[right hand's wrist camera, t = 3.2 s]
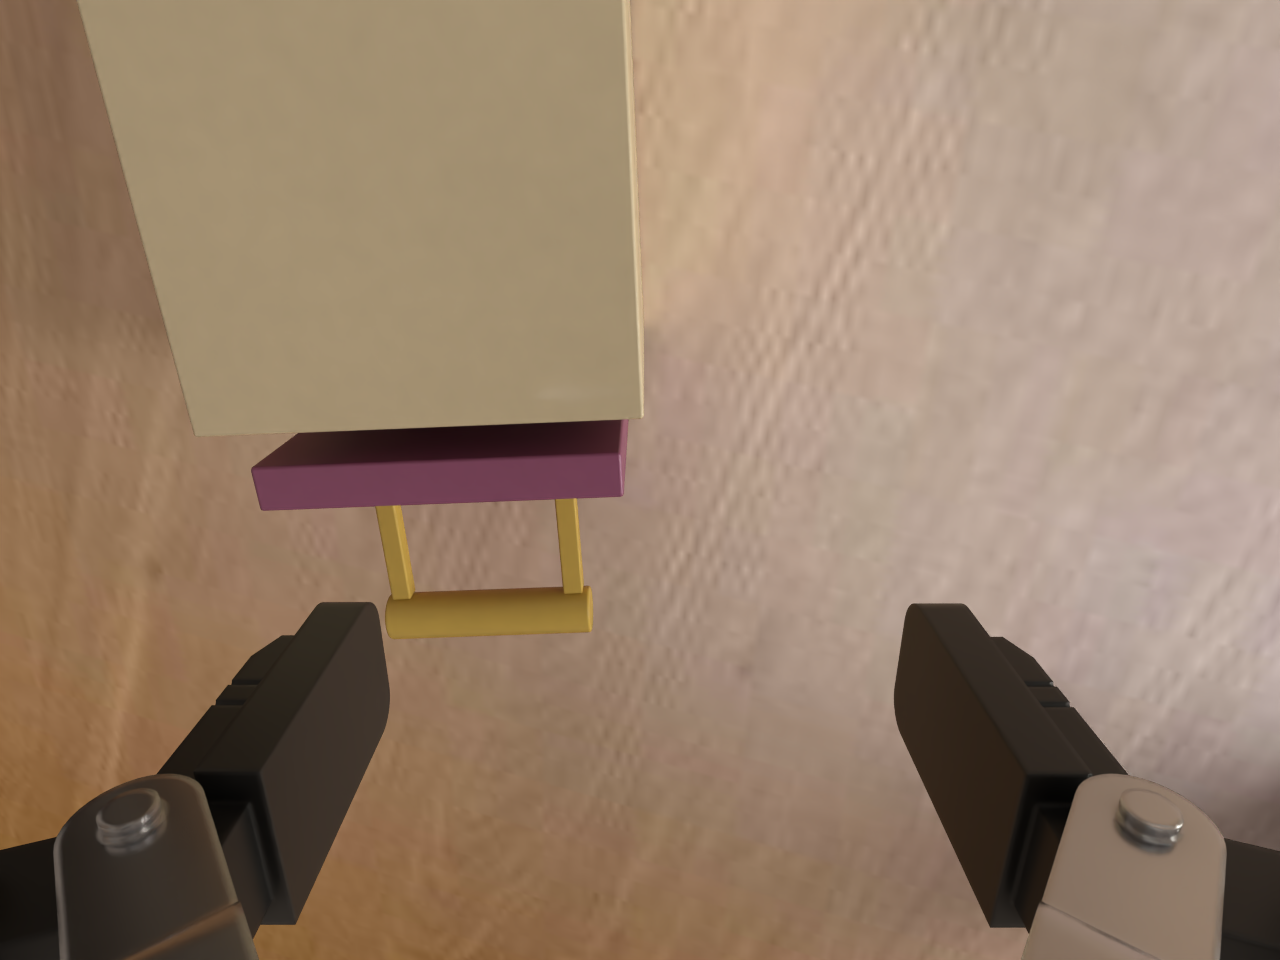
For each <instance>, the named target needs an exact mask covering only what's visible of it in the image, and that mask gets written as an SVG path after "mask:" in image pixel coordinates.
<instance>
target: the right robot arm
mask: <svg viewBox="0 0 1280 960" xmlns="http://www.w3.org/2000/svg"><path fill="white" fill-rule="evenodd" d="M389 704H390V689H389V682H388V675H387V668H386V661H385V654H384V647H383V641H382V634H381V627H380V620H379V615H378V611H377V608H376V606H375V605H374V604H373V603H371V602H322V603H320V604H318V605H317V606H316V607H315V609H314V610H313V611H312V613H311V614H310V615H309V617H308V618H307V619H306V621H305V622H304V623H303V625H302V626H301V627H300V629H299V630H298V631H297V633H296V634H295V635H282V636H280V637H279V638H277V639H276V640H274V641H273V642H271V643H270V644H269V645H267V646H266V647H264V648H263V649H261V650H260V651H258V652H257V653H255V654H254V655H252V656H251V657H250V658H249V660H248V661H247V662H246V663H245V665H244V666H243V667H242V668H241V670H240V671H239V672H238V673H237V675H236V676H235V677H234V678H233V680H232V685H228V686H227V687H226V688H225V689H224V691H223V692H222V693H221V694H220V696H219V697H218V698H217V699H216V705H212V706H211V707H210V708H209V709H208V711H207V712H206V713H205V714H204V716H203V717H202V718H201V719H200V721H199V722H198V723H197V724H196V726H195V727H194V728H193V729H192V731H191V732H190V733H189V734H188V736H187V737H186V738H185V739H184V741H183V742H182V743H181V744H180V746H179V747H178V748H177V749H176V751H175V752H174V753H173V754H172V756H171V757H170V758H169V759H168V761H167V762H166V763H165V764H164V766H163V767H162V768H161V769H160V771H159V772H158V773H157V774H156V775H151V776H146V777H142V778H138V779H135V780H132V781H129V782H126V783H123V784H121V785H119V786H116V787H114V788H112V789H110V790H108V791H106V792H104V793H102V794H100V795H99V796H97V797H96V798H94V799H93V800H91V801H90V802H88V803H87V804H86V805H84V806H83V807H82V808H80V809H79V810H78V811H77V812H76V813H75V814H74V815H73V816H72V817H71V818H70V819H69V820H68V821H67V822H66V824H65V825H64V826H63V827H62V829H61V831H60V832H59V834H58V836H57V837H54V838H50V839H46V840H42V841H38V842H33V843H29V844H25V845H20V846H16V847H12V848H8V849H3V850H0V960H259V958H258V955H257V952H256V949H255V946H254V943H253V938H254V936H255V934H256V932H257V930H258V928H259V926H260V925H295V924H296V922H297V920H298V918H299V915H300V913H301V911H302V909H303V907H304V905H305V902H306V900H307V898H308V896H309V894H310V891H311V889H312V887H313V885H314V883H315V881H316V878H317V876H318V874H319V872H320V870H321V867H322V865H323V863H324V861H325V859H326V856H327V854H328V852H329V850H330V848H331V846H332V843H333V841H334V839H335V837H336V835H337V832H338V830H339V828H340V826H341V824H342V822H343V819H344V817H345V815H346V813H347V811H348V808H349V806H350V804H351V802H352V800H353V797H354V795H355V793H356V791H357V789H358V787H359V784H360V782H361V780H362V778H363V776H364V773H365V771H366V769H367V767H368V765H369V763H370V760H371V758H372V756H373V754H374V752H375V749H376V747H377V745H378V743H379V741H380V738H381V736H382V734H383V732H384V729H385V726H386V723H387V719H388V713H389ZM894 708H895V716H896V721H897V725H898V728H899V731H900V734H901V736H902V738H903V740H904V742H905V745H906V747H907V749H908V751H909V753H910V755H911V758H912V760H913V762H914V764H915V766H916V768H917V770H918V773H919V775H920V777H921V779H922V781H923V783H924V786H925V788H926V790H927V792H928V794H929V796H930V799H931V801H932V803H933V805H934V807H935V809H936V811H937V814H938V816H939V818H940V820H941V822H942V824H943V827H944V829H945V831H946V833H947V835H948V837H949V840H950V842H951V844H952V846H953V848H954V850H955V852H956V855H957V857H958V859H959V861H960V863H961V865H962V868H963V870H964V872H965V874H966V876H967V878H968V881H969V883H970V885H971V887H972V889H973V891H974V894H975V896H976V898H977V900H978V902H979V904H980V906H981V909H982V911H983V913H984V915H985V917H986V919H987V922H988V924H989V926H990V928H1026V929H1027V931H1028V933H1029V936H1028V939H1027V943H1026V946H1025V949H1024V952H1023V955H1022V958H1021V960H1280V851H1276V850H1272V849H1267V848H1263V847H1259V846H1254V845H1250V844H1246V843H1242V842H1237V841H1233V840H1230V839H1226V838H1223V836H1222V834H1221V832H1220V831H1219V829H1218V827H1217V826H1216V825H1215V824H1214V822H1213V821H1212V820H1211V819H1210V818H1209V817H1208V816H1207V815H1206V814H1205V813H1204V812H1203V811H1202V810H1201V809H1200V808H1198V807H1197V806H1196V805H1194V804H1193V803H1192V802H1190V801H1189V800H1187V799H1186V798H1184V797H1183V796H1181V795H1180V794H1178V793H1176V792H1174V791H1172V790H1170V789H1168V788H1166V787H1164V786H1161V785H1159V784H1157V783H1154V782H1151V781H1148V780H1145V779H1142V778H1138V777H1134V776H1129V775H1128V774H1127V773H1126V771H1125V770H1124V769H1123V768H1122V766H1121V765H1120V764H1119V763H1118V761H1117V760H1116V759H1115V758H1114V756H1113V755H1112V754H1111V753H1110V752H1109V750H1108V749H1107V748H1106V747H1105V745H1104V744H1103V743H1102V742H1101V740H1100V739H1099V738H1098V737H1097V735H1096V734H1095V733H1094V732H1093V731H1092V729H1091V728H1090V727H1089V726H1088V724H1087V723H1086V722H1085V721H1084V719H1083V718H1082V717H1081V716H1080V714H1079V713H1078V712H1077V711H1076V710H1075V708H1074V707H1070V705H1069V701H1068V700H1067V698H1066V697H1065V696H1064V695H1063V693H1062V692H1061V691H1060V690H1059V689H1058V687H1054V686H1053V681H1052V680H1051V679H1050V677H1049V676H1048V675H1047V674H1046V672H1045V671H1044V670H1043V669H1042V668H1041V666H1040V665H1039V664H1038V663H1037V661H1036V660H1035V659H1034V658H1033V657H1032V656H1030V655H1029V654H1027V653H1026V652H1024V651H1023V650H1021V649H1020V648H1018V647H1017V646H1015V645H1014V644H1012V643H1011V642H1009V641H1008V640H1006V639H1005V638H1003V637H990V636H989V635H988V633H987V632H986V631H985V629H984V628H983V627H982V625H981V624H980V623H979V621H978V620H977V619H976V617H975V616H974V615H973V613H972V612H971V611H970V609H969V608H968V607H967V606H966V605H964V604H911V605H910V606H909V608H908V610H907V612H906V616H905V621H904V628H903V635H902V641H901V648H900V655H899V662H898V668H897V675H896V682H895V689H894Z"/></svg>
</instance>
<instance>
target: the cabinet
mask: <svg viewBox="0 0 1280 960" xmlns="http://www.w3.org/2000/svg"><path fill="white" fill-rule="evenodd" d="M76 1H77V4H78V8H79V12H80V15H81V19H82V23H83V26H84V30H85V34H86V37H87V41H88V45H89V49H90V52H91V56H92V60H93V63H94V67H95V71H96V74H97V78H98V82H99V85H100V89H101V93H102V97H103V100H104V104H105V108H106V111H107V115H108V119H109V122H110V126H111V130H112V134H113V137H114V141H115V145H116V148H117V152H118V156H119V159H120V163H121V167H122V170H123V174H124V178H125V182H126V185H127V189H128V193H129V196H130V200H131V204H132V207H133V211H134V215H135V218H136V222H137V226H138V230H139V233H140V237H141V241H142V244H143V248H144V252H145V255H146V259H147V263H148V267H149V270H150V274H151V278H152V281H153V285H154V289H155V292H156V296H157V300H158V303H159V307H160V311H161V315H162V318H163V322H164V326H165V329H166V333H167V337H168V340H169V344H170V348H171V351H172V355H173V359H174V363H175V366H176V370H177V374H178V377H179V381H180V385H181V388H182V392H183V396H184V400H185V403H186V407H187V411H188V414H189V418H190V422H191V425H192V429H193V433H194V435H195V436H196V437H210V436H234V435H258V434H282V433H306V432H331V431H355V430H379V429H403V428H427V427H452V426H476V425H500V424H524V423H548V422H573V421H597V420H621V419H641V418H643V416H644V320H643V297H642V273H641V250H640V226H639V203H638V179H637V156H636V132H635V109H634V85H633V62H632V38H631V15H630V0H76Z"/></svg>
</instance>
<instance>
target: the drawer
mask: <svg viewBox="0 0 1280 960" xmlns="http://www.w3.org/2000/svg"><path fill="white" fill-rule="evenodd" d="M627 434H628V419H621V420H597V421H573V422H548V423H524V424H500V425H476V426H452V427H427V428H403V429H379V430H355V431H331V432H306V433H298V434H296V435H295V436H294V437H292V438H291V439H290V440H288V441H287V442H286V443H284V444H283V445H282V446H280V447H279V448H278V449H276V450H275V451H273V452H272V453H271V454H269V455H268V456H267V457H265V458H264V459H263V460H261V461H260V462H259V463H257V464H256V465H255V466H253V467H252V469H251V472H252V476H253V480H254V484H255V488H256V492H257V496H258V500H259V504H260V508H261V510H263V511H268V510H293V509H319V508H344V507H370V506H375V508H376V513H377V518H378V524H379V529H380V534H381V540H382V545H383V551H384V556H385V561H386V567H387V572H388V577H389V583H390V588H391V593H392V594H391V595H390V597H389V599H388V601H387V605H386V611H385V624H386V630H387V633H388V635H389V637H390V638H392V639H411V638H439V637H467V636H496V635H524V634H552V633H580V632H591V630H592V626H593V600H592V591H591V588H590V586H583V585H584V581H583V569H582V556H581V544H580V532H579V519H578V507H577V498H599V497H621V496H623V494H624V481H625V466H626V450H627ZM548 499H555V506H556V517H557V528H558V539H559V550H560V560H561V571H562V582H563V587H543V588H516V589H489V590H462V591H435V592H415V586H414V580H413V574H412V568H411V563H410V557H409V551H408V545H407V540H406V534H405V528H404V522H403V516H402V511H401V505H421V504H446V503H472V502H497V501H523V500H548Z"/></svg>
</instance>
